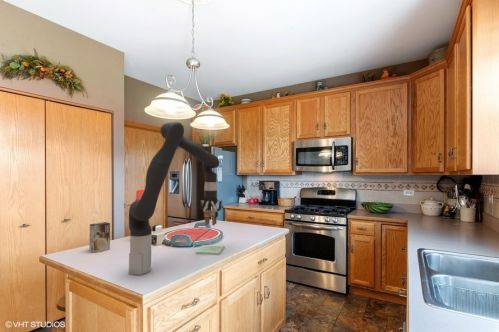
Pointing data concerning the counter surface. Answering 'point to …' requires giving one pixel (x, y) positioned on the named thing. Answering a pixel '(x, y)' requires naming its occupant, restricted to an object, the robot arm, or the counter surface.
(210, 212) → the walnut stool
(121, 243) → the counter surface
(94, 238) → the coffee box
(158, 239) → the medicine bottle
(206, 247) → the sage mat
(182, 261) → the counter surface
